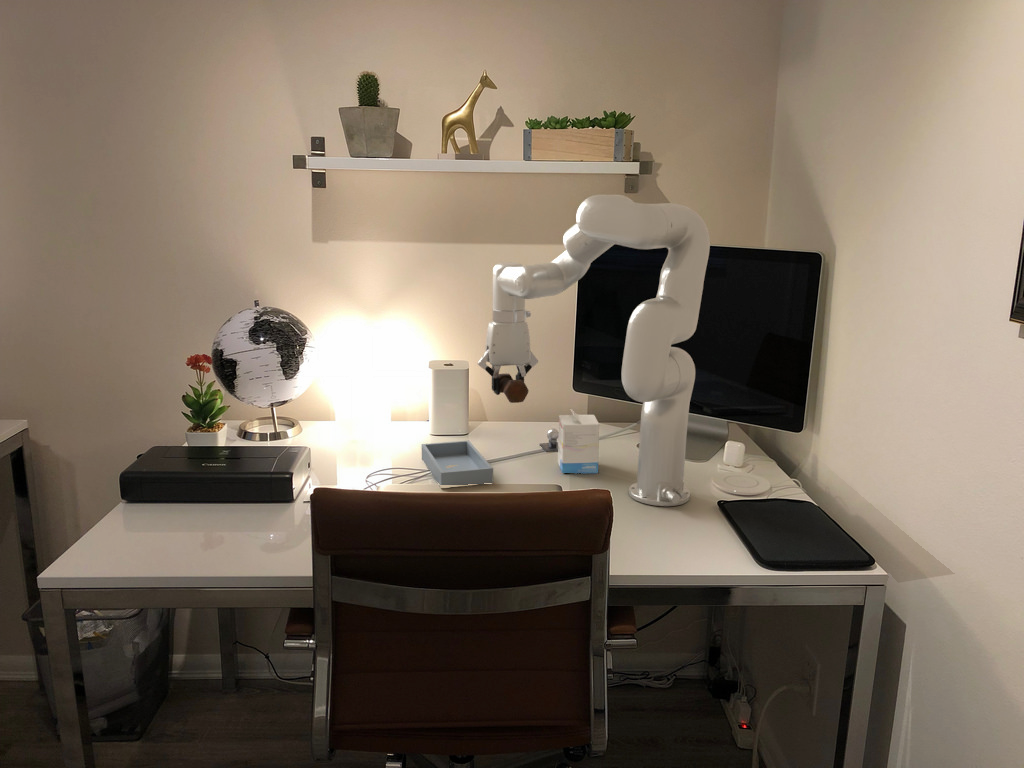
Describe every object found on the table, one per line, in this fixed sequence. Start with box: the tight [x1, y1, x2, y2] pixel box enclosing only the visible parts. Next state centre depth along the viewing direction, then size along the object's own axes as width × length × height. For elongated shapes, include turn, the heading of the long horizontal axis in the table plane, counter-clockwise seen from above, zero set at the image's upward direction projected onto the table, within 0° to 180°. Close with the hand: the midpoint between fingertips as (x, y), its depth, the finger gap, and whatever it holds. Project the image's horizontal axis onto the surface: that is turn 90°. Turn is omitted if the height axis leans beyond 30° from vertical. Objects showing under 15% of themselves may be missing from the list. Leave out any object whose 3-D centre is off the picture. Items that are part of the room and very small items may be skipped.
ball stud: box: [539, 428, 559, 453], centre depth 204 cm, size 5×5×5 cm
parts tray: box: [421, 440, 494, 485], centre depth 187 cm, size 20×11×4 cm, turn 18°
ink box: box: [557, 408, 600, 475], centre depth 189 cm, size 9×8×13 cm
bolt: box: [498, 373, 529, 404], centre depth 196 cm, size 6×5×15 cm
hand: (507, 392), depth 197 cm, fingers closed on bolt, 4 cm apart
